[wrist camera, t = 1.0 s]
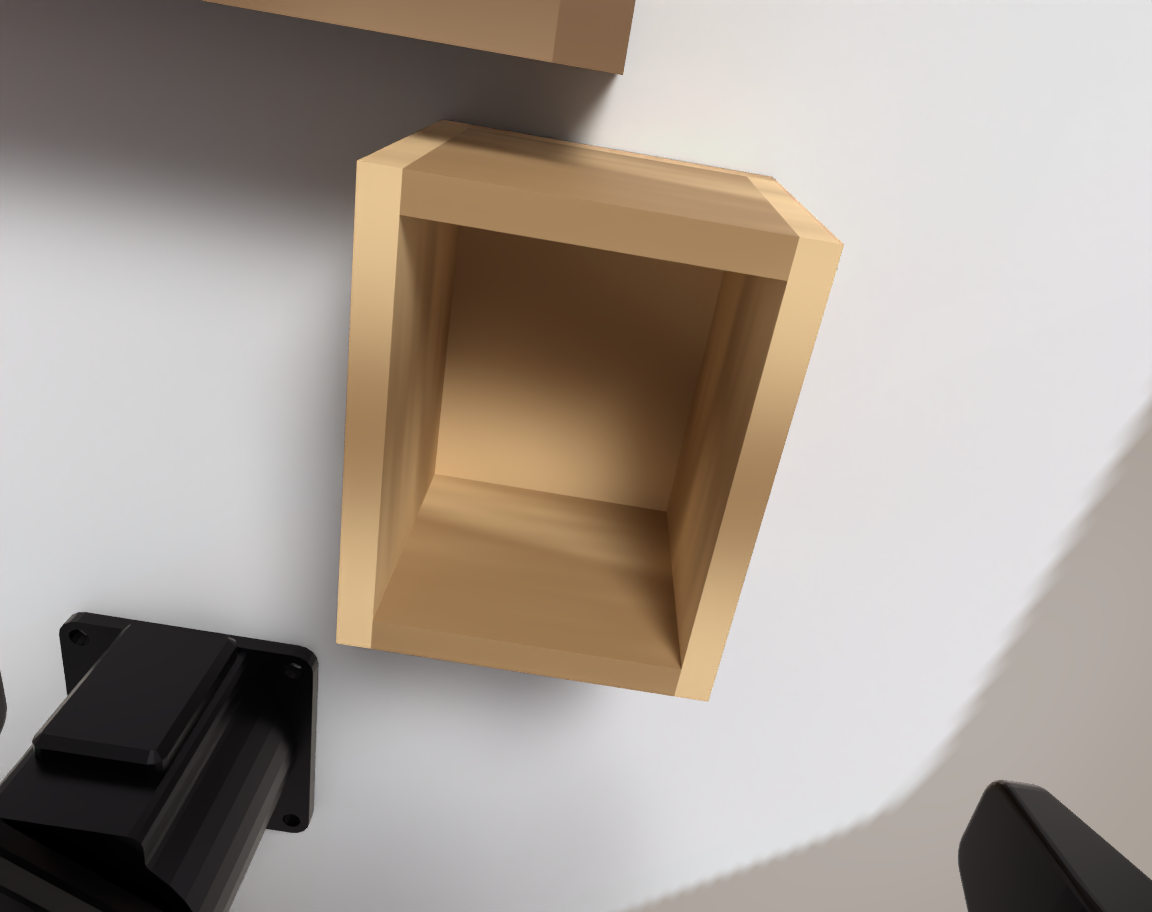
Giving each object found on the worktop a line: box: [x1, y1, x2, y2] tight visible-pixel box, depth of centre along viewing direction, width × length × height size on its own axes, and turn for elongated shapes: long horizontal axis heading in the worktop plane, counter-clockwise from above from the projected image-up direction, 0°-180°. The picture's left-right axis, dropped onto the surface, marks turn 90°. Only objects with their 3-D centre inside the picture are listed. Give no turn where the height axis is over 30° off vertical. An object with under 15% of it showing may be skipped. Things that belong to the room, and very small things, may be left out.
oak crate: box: [336, 120, 844, 701], centre depth 16 cm, size 8×6×6 cm
